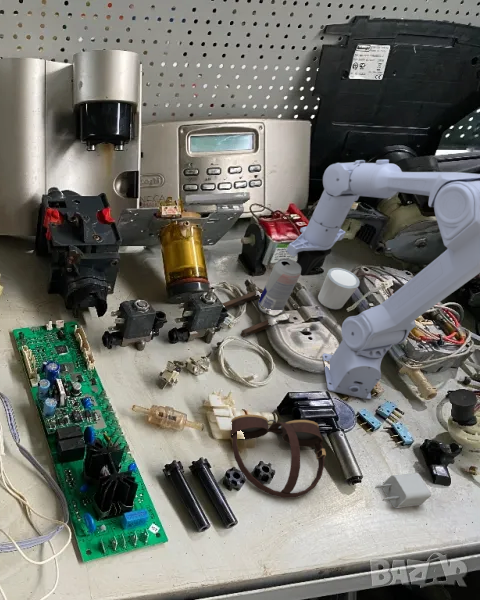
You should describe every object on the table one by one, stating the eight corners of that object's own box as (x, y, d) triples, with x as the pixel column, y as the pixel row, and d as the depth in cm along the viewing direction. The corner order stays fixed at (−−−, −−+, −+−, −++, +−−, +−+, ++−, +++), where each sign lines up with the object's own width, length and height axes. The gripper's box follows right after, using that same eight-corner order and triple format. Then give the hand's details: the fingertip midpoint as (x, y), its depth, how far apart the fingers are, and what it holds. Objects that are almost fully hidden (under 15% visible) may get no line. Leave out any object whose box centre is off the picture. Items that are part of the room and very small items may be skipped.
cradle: (258, 293, 119) (261, 288, 118) (287, 319, 113) (290, 314, 112) (215, 310, 113) (216, 305, 112) (243, 338, 108) (245, 333, 107)
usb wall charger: (419, 506, 84) (432, 494, 81) (380, 511, 83) (393, 499, 80) (404, 483, 87) (416, 470, 84) (366, 487, 86) (378, 475, 83)
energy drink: (272, 297, 118) (292, 256, 110) (286, 314, 114) (307, 272, 106) (252, 301, 116) (270, 259, 108) (265, 318, 113) (285, 276, 105)
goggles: (309, 430, 92) (336, 408, 84) (322, 508, 85) (353, 492, 77) (223, 421, 92) (241, 398, 84) (228, 498, 85) (249, 482, 77)
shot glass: (308, 294, 120) (320, 271, 115) (330, 287, 122) (343, 264, 118) (330, 314, 116) (343, 290, 111) (352, 307, 118) (366, 283, 113)
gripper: (336, 201, 108) (310, 253, 117) (286, 216, 102) (263, 270, 111) (363, 219, 104) (335, 272, 113) (313, 236, 98) (287, 290, 107)
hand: (301, 272), depth 112 cm, fingers closed
